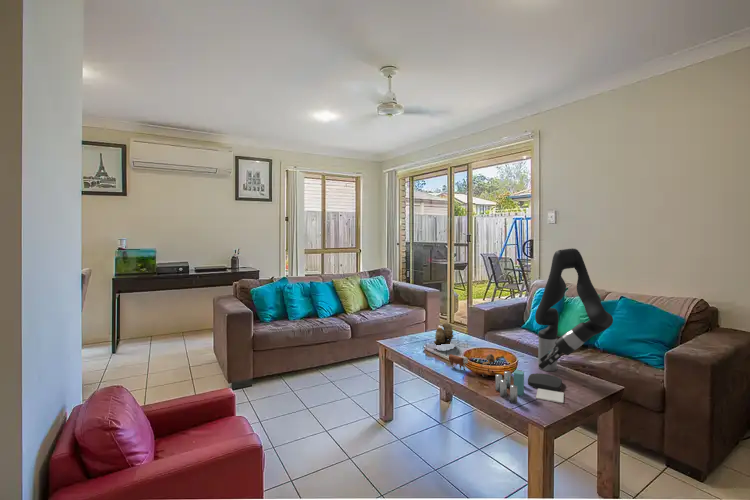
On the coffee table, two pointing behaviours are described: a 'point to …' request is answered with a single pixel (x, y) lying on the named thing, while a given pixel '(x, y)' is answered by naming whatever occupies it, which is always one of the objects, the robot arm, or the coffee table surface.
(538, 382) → the media streaming box
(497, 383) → the posts
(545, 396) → the tile
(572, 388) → the coffee table surface
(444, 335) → the brown squirrel figurine
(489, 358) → the lion figurine
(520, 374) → the teal block
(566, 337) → the robot arm
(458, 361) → the bull figurine
